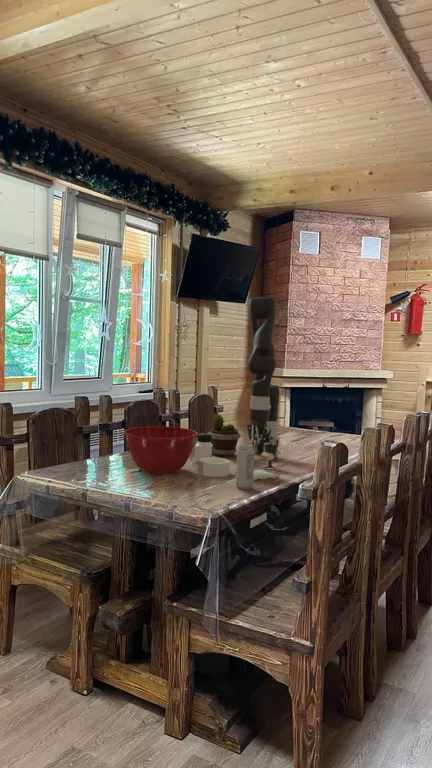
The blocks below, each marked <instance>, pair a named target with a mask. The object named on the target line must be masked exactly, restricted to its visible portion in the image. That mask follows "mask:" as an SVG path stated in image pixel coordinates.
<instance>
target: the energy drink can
mask: <svg viewBox="0 0 432 768" xmlns="http://www.w3.org/2000/svg"><path fill="white" fill-rule="evenodd" d="M236 449H237V451H236V471H235V472H236V474H235V486H236V488H237V489H239V490H244V491H246V490H247V491H248V490H251V489H252V487H254V480H253V474H254V470H255V460H254V453H255V450H254V448H253V445H252V444H250V443H249V444H248V443H247V444H246V443H242V444H241V443H240V444H239V445H238V448H236Z"/></svg>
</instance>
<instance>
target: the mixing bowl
mask: <svg viewBox="0 0 432 768" xmlns="http://www.w3.org/2000/svg"><path fill="white" fill-rule="evenodd" d="M123 433H124V434H125V439H126V444H127V447H128V450H129V453H130V455H131V458H132V460H133V462H134V464H135V465H136V466H137V467H138V468H139V469H140V470H142V472H144V473H147V474H152V475H153V474H154V475H171V474H175V473H176V472H178V471H180V470H181V469H182V468H184V467H185V465H186V463H187V462H188V460H189V458H190V457H191V453H192V451H193V449H194V448H195V445H196V444H195V443H196V441H197V437H198V434H199V432H197V431H196V430H194V429H193V430H192V429H189V428H185V427H184V428H183V427H175V426H161V425H160V426H159V425H158V426H138V427H137V426H136V427H131V428H128V429H125V430H124V431H123Z"/></svg>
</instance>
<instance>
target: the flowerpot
mask: <svg viewBox="0 0 432 768" xmlns="http://www.w3.org/2000/svg"><path fill="white" fill-rule="evenodd" d="M224 422H225V417H224V416H223V415H222V414H221V413H216V414H214V416H212V423H211V424H212V425H211V426H213V427H212V428H211V429H210V430H209V431H208V432H207V434H210V435H211V436H212V439H211V444H212V445H213V449H212V456H214V457H218V456H219V458H224V457H226V458H229V456H231V457H234V455H235V454H237V449H238V448H237V444H238V440H239V439H240V438H241V436H242V435H241V433H240V432H239V430H238V429H237V428H236V427H235V425H234V424H233V423H227V424H224Z"/></svg>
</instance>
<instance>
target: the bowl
mask: <svg viewBox="0 0 432 768" xmlns="http://www.w3.org/2000/svg"><path fill="white" fill-rule="evenodd" d="M231 462H232V460H229V459H226V458H224V457H215V456H214V457H213V456H212V457H210V458H201V459H199V460H198V463H197V468H196V469H197V470H196V473H197V474H198V475H201V476H203V477H211V478H212V477H213V478H220V477H222V478H223V477H228V476H229V475H230V474H231V467H232V466H231V465H232V463H231Z"/></svg>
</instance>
